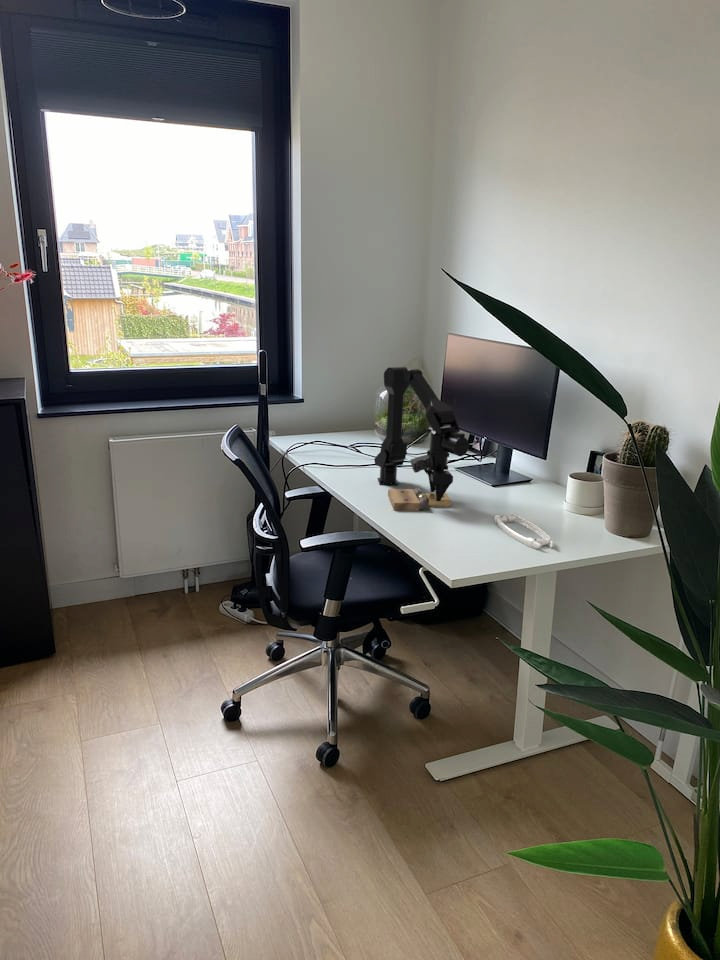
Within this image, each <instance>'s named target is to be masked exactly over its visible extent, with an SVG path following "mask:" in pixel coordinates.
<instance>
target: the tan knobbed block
mask: <svg viewBox="0 0 720 960" xmlns="http://www.w3.org/2000/svg"><path fill="white" fill-rule="evenodd" d="M420 497H424V498H425V499H426V501H427V502H428V504H429V506H450V507H451V502H452V499H451V498H450V496H449V495H448V494H447V493H444V495H443V497H442V498H441V500H440V501H436V493H432V492H430V493H427V492H426V493H423V492H422V493H421V494H419V495H418V496H417V498H420Z"/></svg>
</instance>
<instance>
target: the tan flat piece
mask: <svg viewBox="0 0 720 960" xmlns="http://www.w3.org/2000/svg"><path fill="white" fill-rule="evenodd" d="M421 493H422V494H423V492H422V491H421V489H420V488H419V487H415V488H414V489H413V488H388V489H387V497H389V498H388V500H389V502H390V505H391V507H392V509H393V511H417V510H421V511H423V510H424V511H427V510H428V509H429V504H428V502H427V501H426V499H425V498H424V497H420V498H417V496H418V495H419V494H421Z"/></svg>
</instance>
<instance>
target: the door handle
mask: <svg viewBox="0 0 720 960" xmlns="http://www.w3.org/2000/svg"><path fill="white" fill-rule="evenodd" d="M493 522H494V523H495V525H497V526H498V527H499V528H500V530H502V531H503V532H504V533H505V534H507V535H508V536H509V537H511V538H512V539H514V540H515V541H518V542H520V543H521V544H524V545H525V546H526V547H529V548H532V549H533V550H538V549H540V548H542V547H543V546H548V547H549V548H550V549H551V548H554V547H555V543H554V539H552V537H551V536H550V535H548V534H547V533H546V532H545V531H544V530H543V529H541V528H540V527H539V526H537V525H536V524H534V523H532V522H531V521H529V520H527V519H525V518H523V517H520V516H519V515H518V514H515V513H512V514H511V513H510V514H508V515H503V516H501V515H500V514H496V515H493ZM511 522H513V523H514V524H515V523H516V524H519V525H521V526H524V527H525V528H527V529H528V530H531V531H532V532H533V533H535V534H537V535H538V536H539V537H540V538H537V539H536V538H533V537H531V536H530V537H526V536H524V535H522V534H520V533H518V532H516V531H515V530H513V529H511V528H510V527H509V526H507V525H506V524H505V523H511ZM541 546H542V547H541Z"/></svg>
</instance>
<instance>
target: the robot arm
mask: <svg viewBox="0 0 720 960" xmlns="http://www.w3.org/2000/svg"><path fill="white" fill-rule="evenodd" d="M383 386H384V388H385V390H386V391H387V394H388V398H387V399H388V400H387V418H386V419H387V421H386V436H385V438H384V439H383V441H382V443H381V445H380V452H378V454H377V455H376V456H375V457H374V465H375V466H378V467H380V469H379V477H377V482H378V484H379V485H380V486H381V485H387V486H388V485H391V486H392V485H393V486H398V485H399V481H398V478H397V474H398V473H397V472H398V466H403V465H404V461H405V459H406V457H407V455H408V452H407V449H408V443H407V442H405V441H404V439H403V437H402V432H403V412H404V411H403V410H404V398H405V397H404V396H405V393H406V391H408V388H409V387H411V388H412V390H413V391H414V393H415V395H416V396H417V398H418V399H419V401H420V402H421V404H422V405H423V407H424V409H425V418H426V419H427V423H428V424H429V426H430V427H428V428H427V429H425V430H426V432H427V433H430V440H429V449H428V450H427V452H426V454H424V455H421V456H420V455H419V456H417V457H414V458H411V459H410V460H409V461H410V464H411V467H412V470H413V473H420V471H424V473H426V474H427V477H428V482H429V488H430V489H429V490H430V493H434V494H436V501H440V500H441V498H442V497H443V495H444V494H446V491H447V490H448V488H449V487H450V485H452V484H453V482H454V476H453V474H452V473H451V472H450V471H449V466H448V458H450V454H451V455H455V456H457V457H463V456H465V455H466V453H467V452H468V451H469V448H470V447H469V446H470V444H469V440H468V439H467V438H466V437H465V436H466V434H465V433H463V432H461V430H460V427H459V424H458V422H457V419H456V416H455V413H454V411H453V409H452V408H451V407H450V406H449V405H448V404H447V403H445V402H444V401H442V400H440V398H439V397H438V396H437V394H436V393H435V392H434V390H433V389H432V387H431V386H430V384H429V382H428V381H427V380H426V378H425V376H424V375H423V372H422V370H421V369H419V368H410V369H409V368H408V367H406V366H394V367H393V366H391V367H387V368H386V369H385V370H384V373H383Z"/></svg>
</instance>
